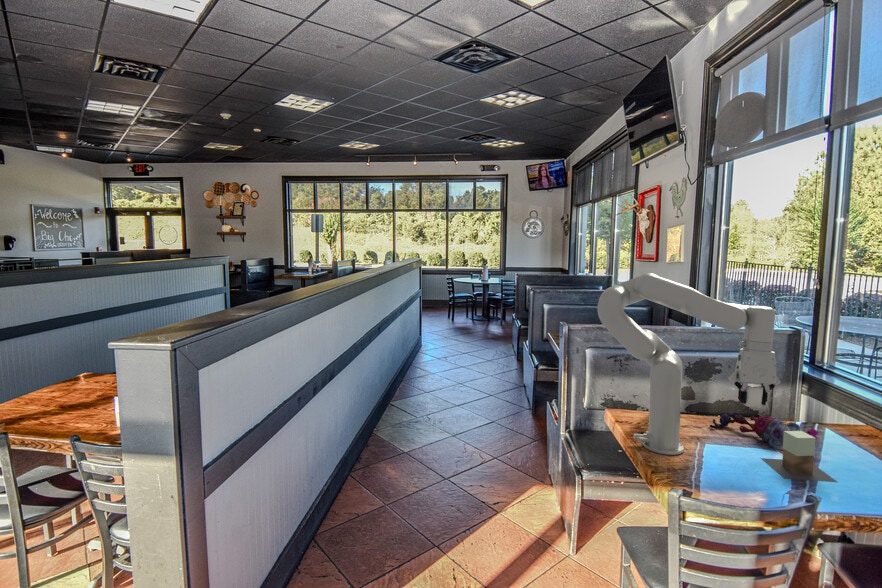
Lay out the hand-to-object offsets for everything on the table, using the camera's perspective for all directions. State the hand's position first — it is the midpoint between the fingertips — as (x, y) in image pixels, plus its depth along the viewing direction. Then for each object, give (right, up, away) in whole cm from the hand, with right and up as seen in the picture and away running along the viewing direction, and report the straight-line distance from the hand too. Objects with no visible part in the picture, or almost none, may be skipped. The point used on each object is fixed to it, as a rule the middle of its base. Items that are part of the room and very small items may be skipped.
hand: (752, 402), depth 150 cm
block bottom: (+11, -19, -4) cm, 23 cm away
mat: (+11, -20, -4) cm, 23 cm away
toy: (+16, -18, +19) cm, 31 cm away
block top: (+11, -14, -5) cm, 18 cm away
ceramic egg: (0, -1, 0) cm, 1 cm away
